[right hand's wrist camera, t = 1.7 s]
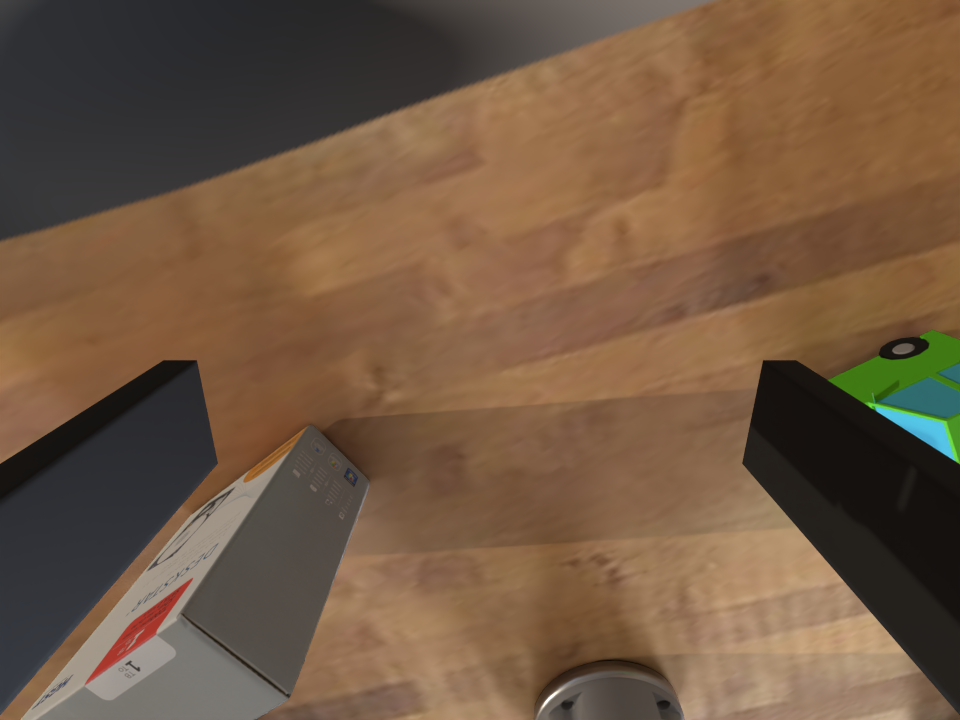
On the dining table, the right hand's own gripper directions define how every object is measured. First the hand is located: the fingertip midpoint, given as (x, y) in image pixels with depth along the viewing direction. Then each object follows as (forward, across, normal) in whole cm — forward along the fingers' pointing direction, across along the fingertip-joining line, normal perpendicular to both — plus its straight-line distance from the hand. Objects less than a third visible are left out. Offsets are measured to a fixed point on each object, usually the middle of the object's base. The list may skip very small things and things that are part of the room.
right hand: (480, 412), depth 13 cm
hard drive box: (+28, +18, +22) cm, 40 cm away
